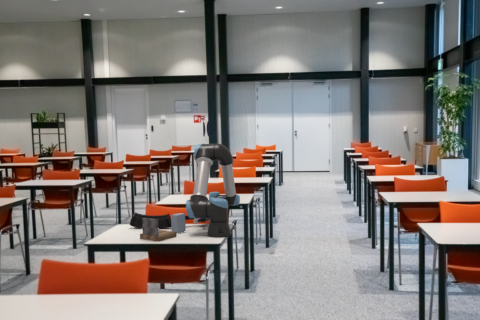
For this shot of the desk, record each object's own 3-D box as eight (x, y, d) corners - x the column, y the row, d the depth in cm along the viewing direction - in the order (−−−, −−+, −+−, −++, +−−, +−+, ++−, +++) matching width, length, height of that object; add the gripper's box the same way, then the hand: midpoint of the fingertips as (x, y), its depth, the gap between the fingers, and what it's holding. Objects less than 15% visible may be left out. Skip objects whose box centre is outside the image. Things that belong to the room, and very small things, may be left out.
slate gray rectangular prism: (185, 231, 345) (185, 213, 344) (177, 233, 338) (176, 215, 337) (179, 231, 348) (179, 213, 347) (171, 233, 341) (171, 214, 340)
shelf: (176, 236, 329) (175, 216, 328) (158, 241, 316) (158, 220, 315) (158, 234, 338) (157, 214, 338) (140, 238, 325) (139, 218, 325)
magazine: (176, 215, 356) (136, 202, 361) (175, 216, 353) (134, 203, 358) (170, 239, 358) (130, 226, 363) (168, 240, 355) (128, 227, 360)
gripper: (220, 222, 360) (200, 227, 342) (192, 219, 374) (172, 224, 357) (220, 211, 359) (200, 216, 342) (192, 209, 373) (172, 213, 356)
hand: (186, 220), depth 349 cm, fingers open, 13 cm apart
